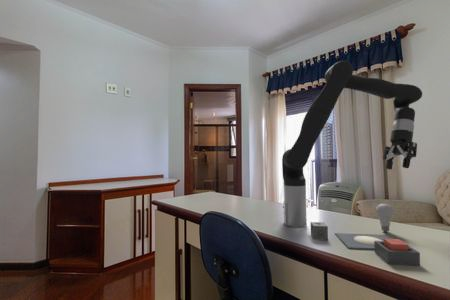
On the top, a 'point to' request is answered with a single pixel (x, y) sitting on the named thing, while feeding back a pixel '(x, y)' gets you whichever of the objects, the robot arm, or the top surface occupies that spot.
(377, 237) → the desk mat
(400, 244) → the button
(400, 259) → the button box
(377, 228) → the top surface
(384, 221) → the lightbulb
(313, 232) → the dice cube
